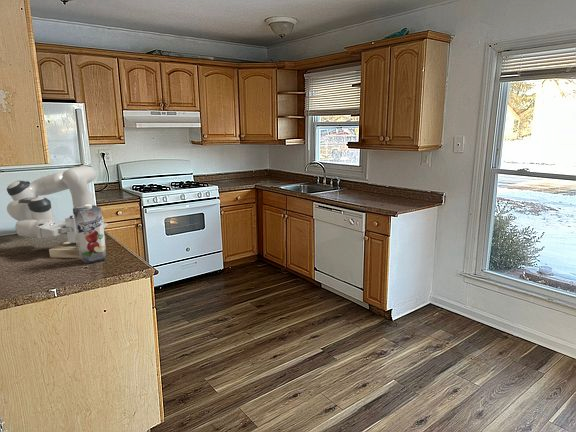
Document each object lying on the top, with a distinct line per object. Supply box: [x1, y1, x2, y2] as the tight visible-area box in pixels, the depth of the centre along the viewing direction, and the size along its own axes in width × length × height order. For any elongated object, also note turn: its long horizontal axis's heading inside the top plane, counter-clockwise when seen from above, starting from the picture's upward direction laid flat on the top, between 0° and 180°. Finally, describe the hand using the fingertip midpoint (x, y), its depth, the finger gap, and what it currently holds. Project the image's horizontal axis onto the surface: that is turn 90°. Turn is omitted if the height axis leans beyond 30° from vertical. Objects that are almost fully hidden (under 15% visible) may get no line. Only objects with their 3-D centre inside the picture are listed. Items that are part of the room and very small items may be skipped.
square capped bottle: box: [64, 215, 78, 243], centre depth 200 cm, size 4×4×13 cm
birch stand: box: [48, 240, 81, 259], centre depth 201 cm, size 18×16×8 cm
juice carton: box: [74, 204, 107, 265], centre depth 186 cm, size 9×10×27 cm
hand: (75, 228), depth 200 cm, fingers closed on square capped bottle, 4 cm apart
